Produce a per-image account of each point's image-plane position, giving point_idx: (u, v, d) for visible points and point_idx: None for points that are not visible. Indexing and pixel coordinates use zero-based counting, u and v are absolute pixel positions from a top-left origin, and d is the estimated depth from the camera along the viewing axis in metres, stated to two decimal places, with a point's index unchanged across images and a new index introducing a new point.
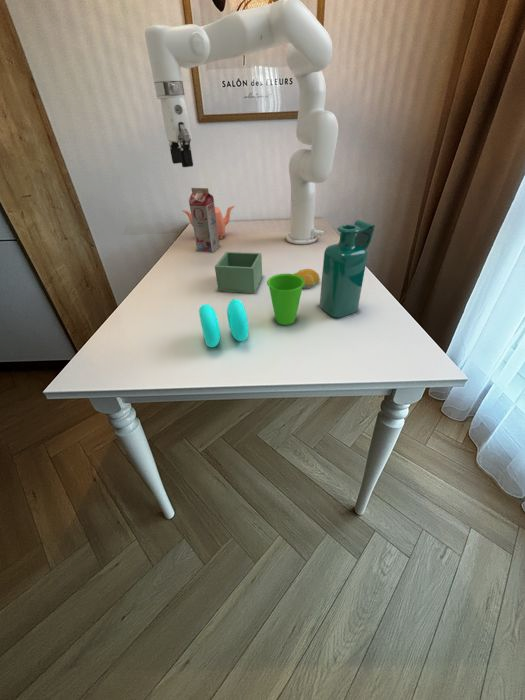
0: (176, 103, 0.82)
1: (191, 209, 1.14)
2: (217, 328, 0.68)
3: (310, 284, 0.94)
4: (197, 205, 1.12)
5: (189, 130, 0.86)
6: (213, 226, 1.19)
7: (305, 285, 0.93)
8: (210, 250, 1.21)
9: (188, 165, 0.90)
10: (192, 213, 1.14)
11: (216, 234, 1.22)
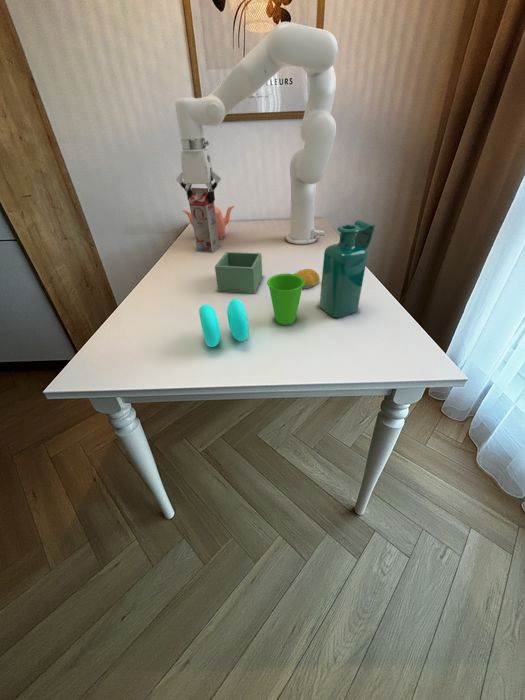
0: (207, 154, 1.04)
1: (191, 209, 1.14)
2: (217, 328, 0.68)
3: (310, 284, 0.94)
4: (197, 205, 1.12)
5: None
6: (213, 226, 1.19)
7: (305, 285, 0.93)
8: (210, 250, 1.21)
9: (212, 201, 1.13)
10: (192, 213, 1.14)
11: (216, 234, 1.22)
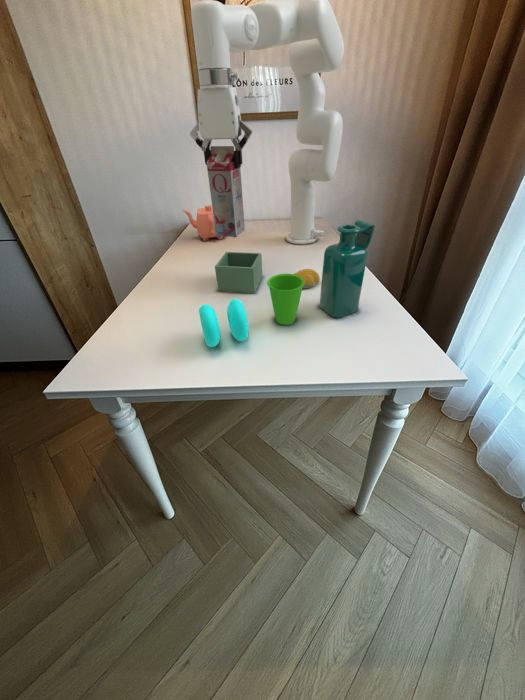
0: (235, 93, 0.73)
1: (210, 176, 0.83)
2: (217, 328, 0.68)
3: (310, 284, 0.94)
4: (218, 171, 0.81)
5: None
6: (238, 201, 0.88)
7: (305, 285, 0.93)
8: (233, 234, 0.90)
9: (239, 166, 0.82)
10: (210, 182, 0.83)
11: (241, 213, 0.91)
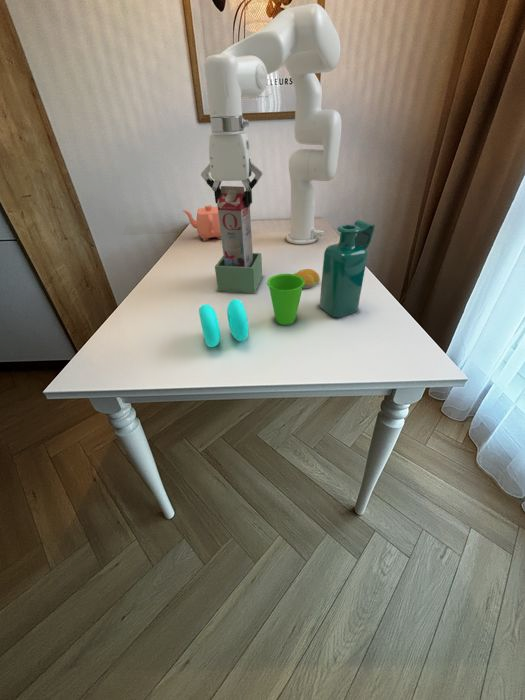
0: (246, 138, 0.74)
1: (220, 215, 0.84)
2: (217, 328, 0.68)
3: (310, 284, 0.94)
4: (228, 210, 0.82)
5: None
6: (248, 237, 0.89)
7: (305, 285, 0.93)
8: None
9: (249, 205, 0.84)
10: (220, 220, 0.85)
11: (250, 247, 0.92)
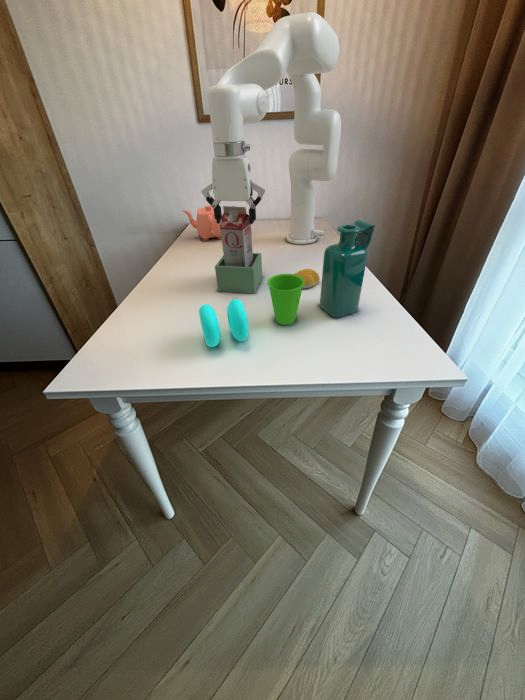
0: (248, 162, 0.77)
1: (222, 234, 0.87)
2: (217, 328, 0.68)
3: (310, 284, 0.94)
4: (230, 229, 0.86)
5: None
6: (249, 254, 0.92)
7: (305, 285, 0.93)
8: None
9: (253, 221, 0.86)
10: (223, 238, 0.88)
11: (251, 263, 0.96)
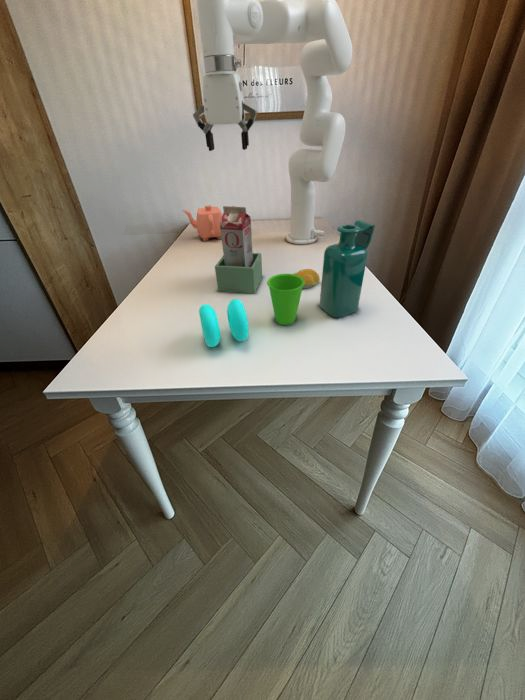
0: (239, 79, 0.77)
1: (222, 234, 0.87)
2: (217, 328, 0.68)
3: (310, 284, 0.94)
4: (230, 229, 0.86)
5: (244, 110, 0.82)
6: (249, 254, 0.92)
7: (305, 285, 0.93)
8: None
9: (246, 147, 0.86)
10: (223, 238, 0.88)
11: (251, 263, 0.96)
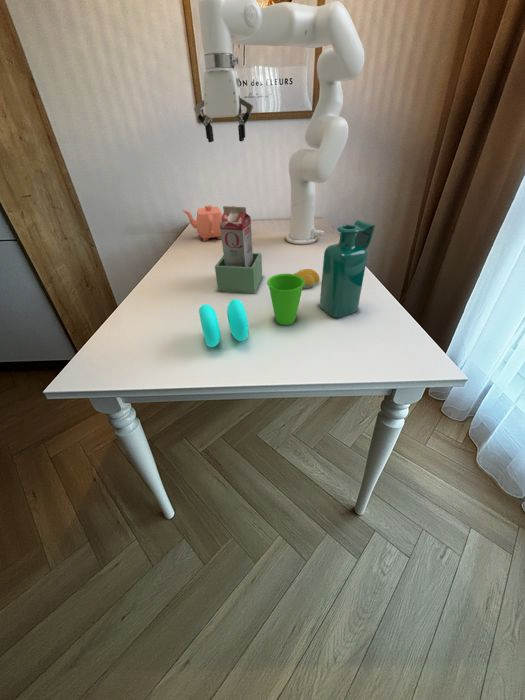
0: (236, 76, 0.84)
1: (222, 234, 0.87)
2: (217, 328, 0.68)
3: (310, 284, 0.94)
4: (230, 229, 0.86)
5: (241, 104, 0.89)
6: (249, 254, 0.92)
7: (305, 285, 0.93)
8: None
9: (242, 139, 0.93)
10: (223, 238, 0.88)
11: (251, 263, 0.96)
